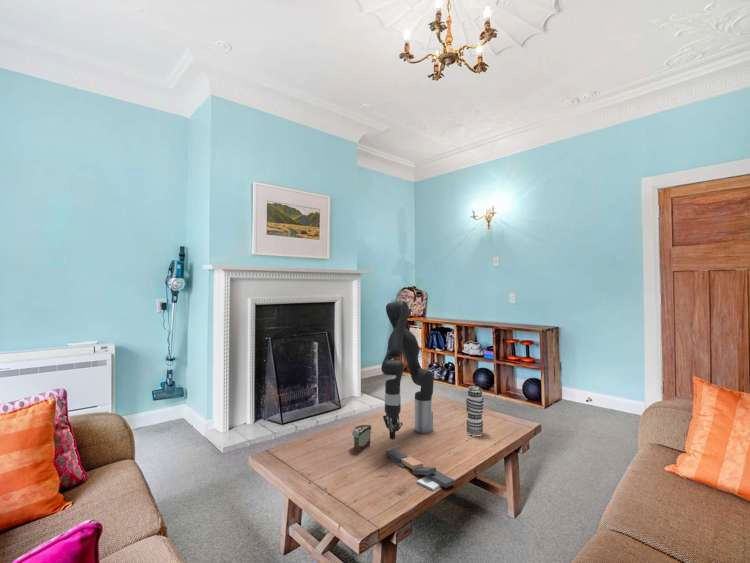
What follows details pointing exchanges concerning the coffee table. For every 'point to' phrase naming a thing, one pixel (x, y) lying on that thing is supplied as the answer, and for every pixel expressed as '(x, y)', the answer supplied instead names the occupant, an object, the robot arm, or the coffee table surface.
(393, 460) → the domino
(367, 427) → the food container
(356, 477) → the coffee table surface
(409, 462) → the domino
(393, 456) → the domino
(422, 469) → the domino
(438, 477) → the domino
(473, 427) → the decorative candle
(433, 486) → the external hard drive
